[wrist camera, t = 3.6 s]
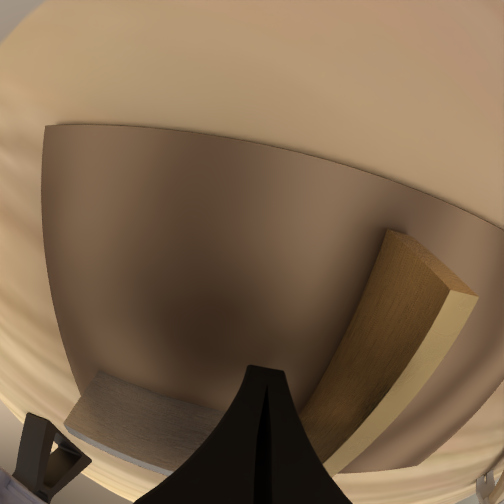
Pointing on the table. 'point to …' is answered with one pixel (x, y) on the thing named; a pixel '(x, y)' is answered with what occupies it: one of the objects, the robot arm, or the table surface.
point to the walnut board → (248, 271)
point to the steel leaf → (140, 423)
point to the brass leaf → (386, 349)
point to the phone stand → (46, 459)
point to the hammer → (490, 489)
